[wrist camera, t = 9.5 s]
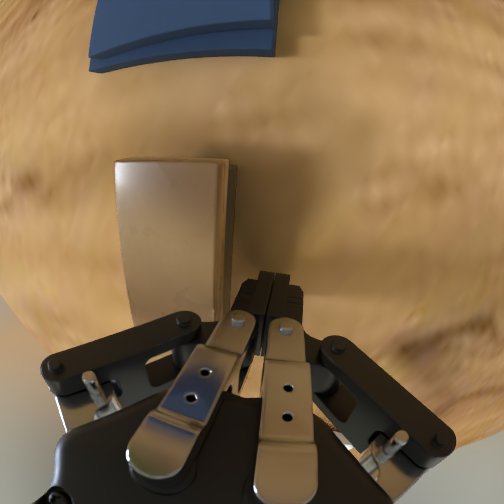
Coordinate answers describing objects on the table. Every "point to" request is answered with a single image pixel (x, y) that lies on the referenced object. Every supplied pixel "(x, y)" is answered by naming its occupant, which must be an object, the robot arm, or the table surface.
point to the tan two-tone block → (176, 235)
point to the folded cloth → (179, 31)
